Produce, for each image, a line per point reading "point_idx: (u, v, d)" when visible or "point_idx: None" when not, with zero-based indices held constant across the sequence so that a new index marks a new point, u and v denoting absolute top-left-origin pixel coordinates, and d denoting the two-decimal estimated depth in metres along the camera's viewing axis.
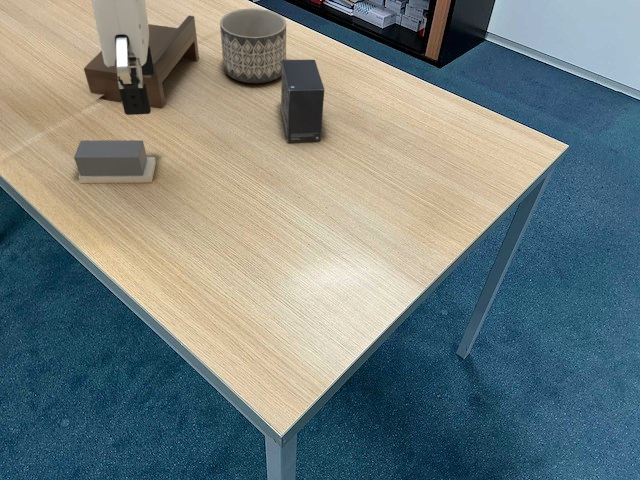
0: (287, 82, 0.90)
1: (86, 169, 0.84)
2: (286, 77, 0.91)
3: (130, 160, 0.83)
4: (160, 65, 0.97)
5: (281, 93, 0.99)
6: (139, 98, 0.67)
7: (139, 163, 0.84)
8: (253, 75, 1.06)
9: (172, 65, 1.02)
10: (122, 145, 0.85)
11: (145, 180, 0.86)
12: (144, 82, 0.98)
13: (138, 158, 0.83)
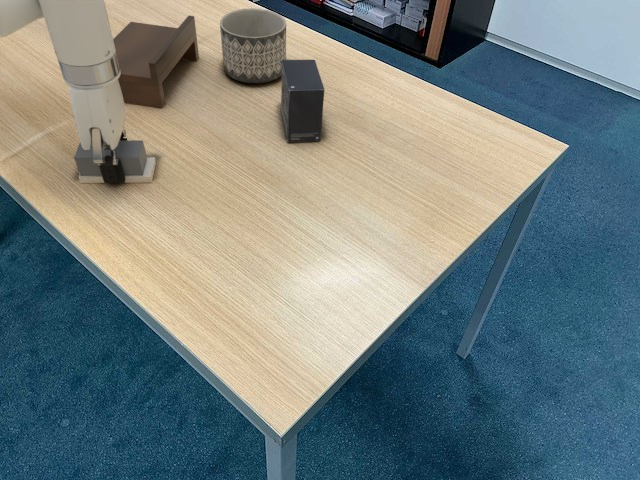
0: (287, 82, 0.90)
1: (86, 169, 0.84)
2: (286, 77, 0.91)
3: (130, 160, 0.83)
4: (160, 65, 0.97)
5: (281, 93, 0.99)
6: (114, 171, 0.83)
7: (139, 163, 0.84)
8: (253, 75, 1.06)
9: (172, 65, 1.02)
10: (122, 145, 0.85)
11: (145, 180, 0.86)
12: (144, 82, 0.98)
13: (138, 158, 0.83)
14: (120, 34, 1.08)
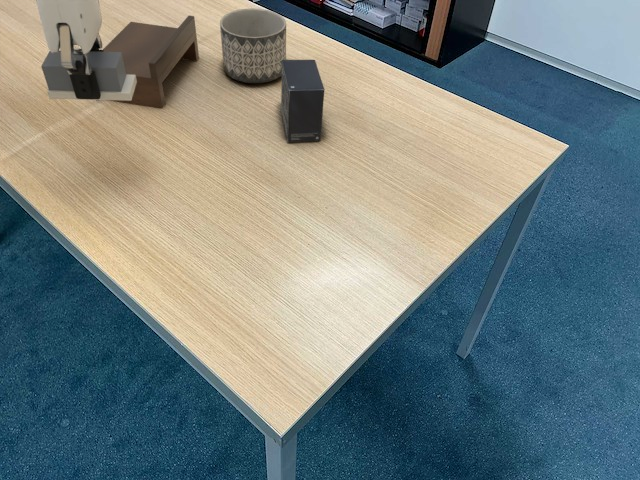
0: (287, 82, 0.90)
1: (56, 82, 0.73)
2: (286, 77, 0.91)
3: (106, 71, 0.73)
4: (160, 65, 0.97)
5: (281, 93, 0.99)
6: (87, 83, 0.72)
7: (116, 76, 0.74)
8: (253, 75, 1.06)
9: (172, 65, 1.02)
10: (98, 56, 0.74)
11: (123, 97, 0.76)
12: (144, 82, 0.98)
13: (115, 69, 0.73)
14: (120, 34, 1.08)
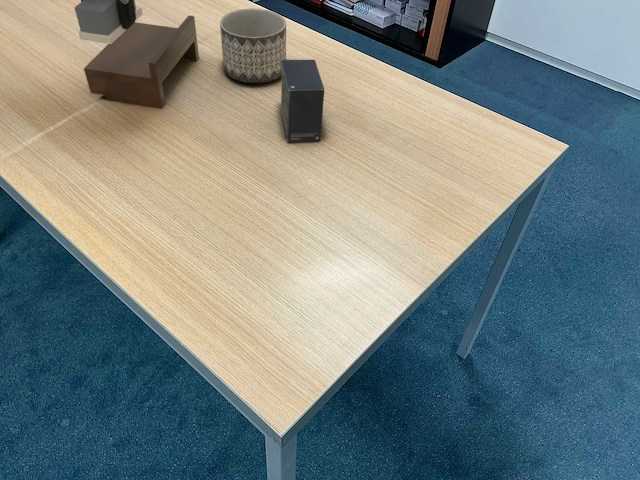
0: (287, 82, 0.90)
1: (110, 23, 0.81)
2: (286, 77, 0.91)
3: None
4: (160, 65, 0.97)
5: (281, 93, 0.99)
6: (133, 6, 0.83)
7: None
8: (253, 75, 1.06)
9: (172, 65, 1.02)
10: None
11: (139, 13, 0.88)
12: (144, 82, 0.98)
13: None
14: None
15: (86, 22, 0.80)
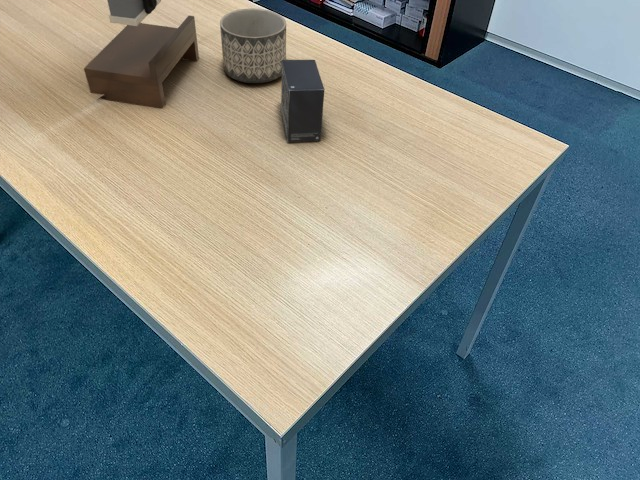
0: (287, 82, 0.90)
1: (136, 8, 0.95)
2: (286, 77, 0.91)
3: None
4: (160, 65, 0.97)
5: (281, 93, 0.99)
6: None
7: None
8: (253, 75, 1.06)
9: (172, 65, 1.02)
10: None
11: (159, 0, 1.02)
12: (144, 82, 0.98)
13: None
14: (120, 34, 1.08)
15: (116, 7, 0.94)
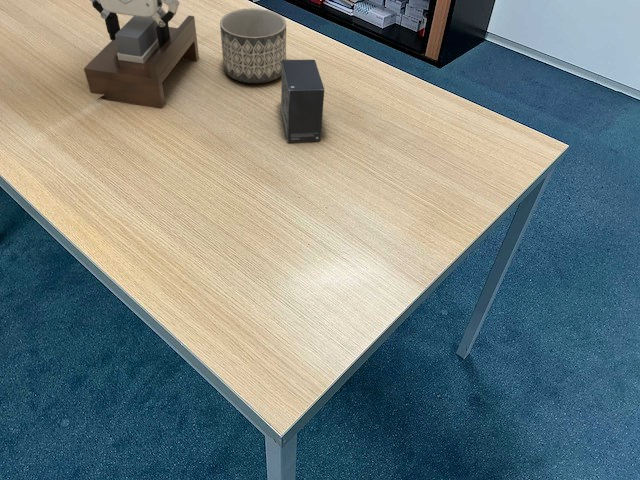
0: (287, 82, 0.90)
1: (143, 47, 1.00)
2: (286, 77, 0.91)
3: None
4: (160, 65, 0.97)
5: (281, 93, 0.99)
6: (168, 29, 1.01)
7: None
8: (253, 75, 1.06)
9: (172, 65, 1.02)
10: (137, 19, 1.02)
11: None
12: (144, 82, 0.98)
13: None
14: None
15: (124, 46, 0.99)
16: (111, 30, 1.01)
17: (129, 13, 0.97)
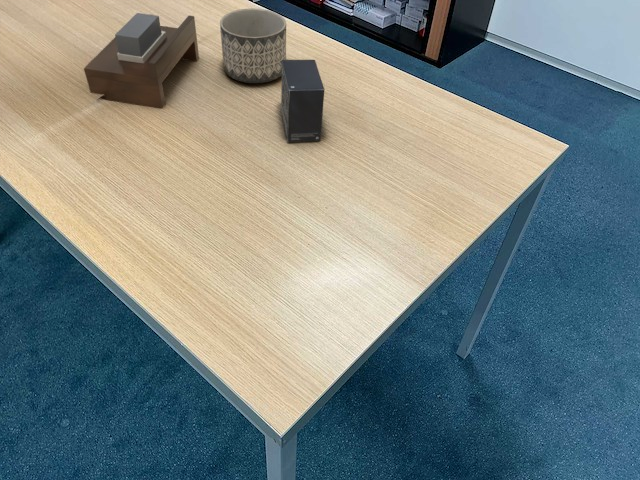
0: (287, 82, 0.90)
1: (143, 47, 1.00)
2: (286, 77, 0.91)
3: (156, 21, 1.03)
4: (160, 65, 0.97)
5: (281, 93, 0.99)
6: None
7: (159, 22, 1.04)
8: (253, 75, 1.06)
9: (172, 65, 1.02)
10: (137, 19, 1.02)
11: (164, 37, 1.07)
12: (144, 82, 0.98)
13: (158, 17, 1.04)
14: None
15: (124, 46, 0.99)
16: None
17: None
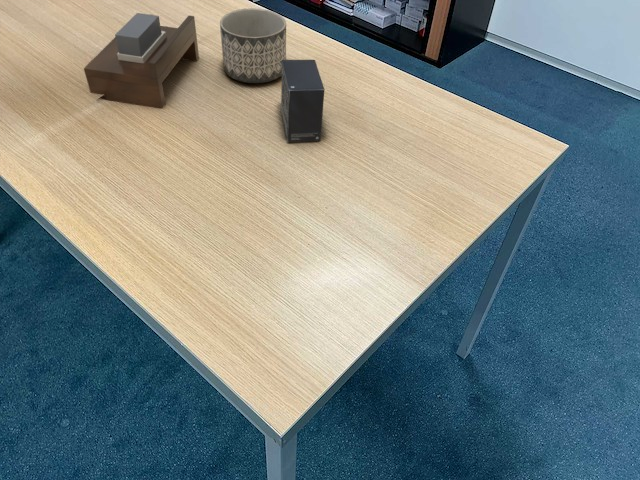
0: (287, 82, 0.90)
1: (143, 47, 1.00)
2: (286, 77, 0.91)
3: (156, 21, 1.03)
4: (160, 65, 0.97)
5: (281, 93, 0.99)
6: None
7: (159, 22, 1.04)
8: (253, 75, 1.06)
9: (172, 65, 1.02)
10: (137, 19, 1.02)
11: (164, 37, 1.07)
12: (144, 82, 0.98)
13: (158, 17, 1.04)
14: None
15: (124, 46, 0.99)
16: None
17: None
